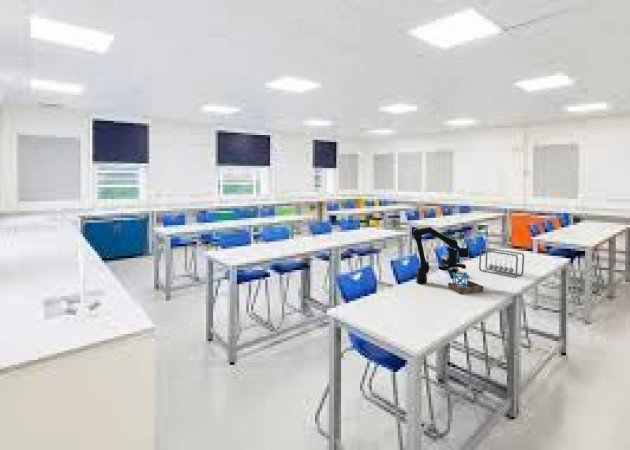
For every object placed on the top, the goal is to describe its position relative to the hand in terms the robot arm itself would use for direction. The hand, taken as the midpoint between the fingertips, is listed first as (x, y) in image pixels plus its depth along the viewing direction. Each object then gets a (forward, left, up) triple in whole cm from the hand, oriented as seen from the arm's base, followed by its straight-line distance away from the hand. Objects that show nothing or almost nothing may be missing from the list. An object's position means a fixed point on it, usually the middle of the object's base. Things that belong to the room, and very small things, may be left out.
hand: (451, 278), depth 264 cm
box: (0, -14, -4) cm, 15 cm away
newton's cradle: (+54, +15, -4) cm, 57 cm away
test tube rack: (+18, +30, -5) cm, 35 cm away
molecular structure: (0, -9, -4) cm, 10 cm away
